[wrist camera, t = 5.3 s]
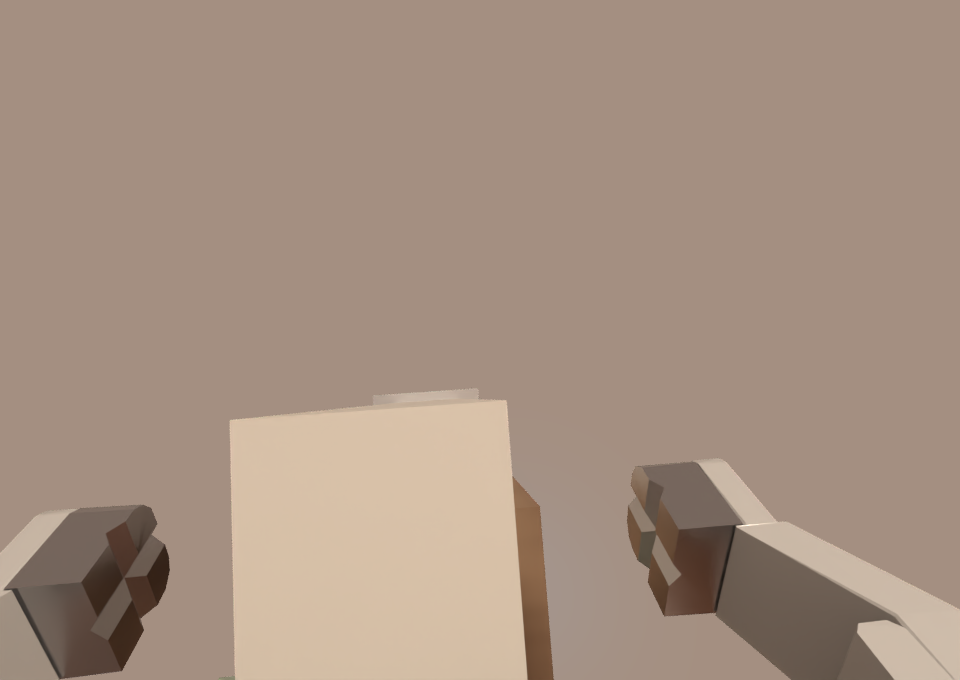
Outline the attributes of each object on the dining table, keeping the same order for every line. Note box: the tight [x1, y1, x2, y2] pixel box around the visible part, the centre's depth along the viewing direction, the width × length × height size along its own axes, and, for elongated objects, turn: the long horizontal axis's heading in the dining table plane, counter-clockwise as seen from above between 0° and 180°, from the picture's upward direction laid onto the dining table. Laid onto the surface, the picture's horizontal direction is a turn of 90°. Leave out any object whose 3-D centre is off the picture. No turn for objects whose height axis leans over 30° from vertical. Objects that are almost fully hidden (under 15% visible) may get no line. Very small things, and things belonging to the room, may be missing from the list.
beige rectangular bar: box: [230, 389, 527, 680], centre depth 15 cm, size 5×20×3 cm, turn 4°
